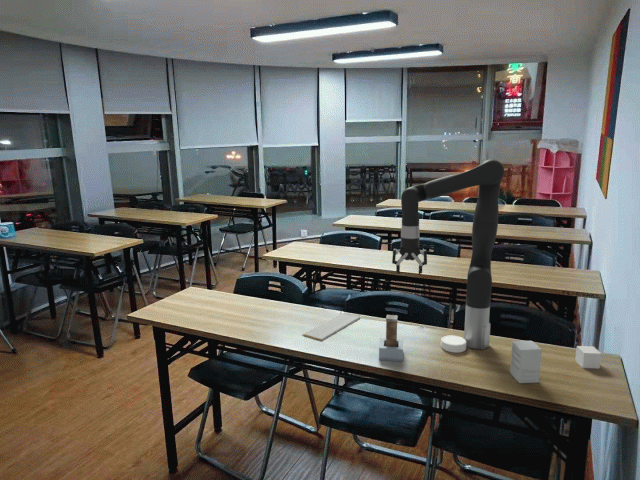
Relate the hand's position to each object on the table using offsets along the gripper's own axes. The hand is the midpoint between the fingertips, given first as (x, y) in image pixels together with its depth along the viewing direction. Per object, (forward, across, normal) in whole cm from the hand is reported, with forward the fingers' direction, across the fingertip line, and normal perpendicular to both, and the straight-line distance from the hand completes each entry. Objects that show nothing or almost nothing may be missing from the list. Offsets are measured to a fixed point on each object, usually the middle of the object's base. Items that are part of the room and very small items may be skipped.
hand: (409, 273), depth 193 cm
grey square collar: (+28, -6, -19) cm, 35 cm away
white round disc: (+29, +18, -8) cm, 35 cm away
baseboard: (+29, -34, +7) cm, 46 cm away
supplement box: (+28, +40, -30) cm, 58 cm away
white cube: (+28, +66, -16) cm, 73 cm away
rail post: (+27, -6, -19) cm, 34 cm away
